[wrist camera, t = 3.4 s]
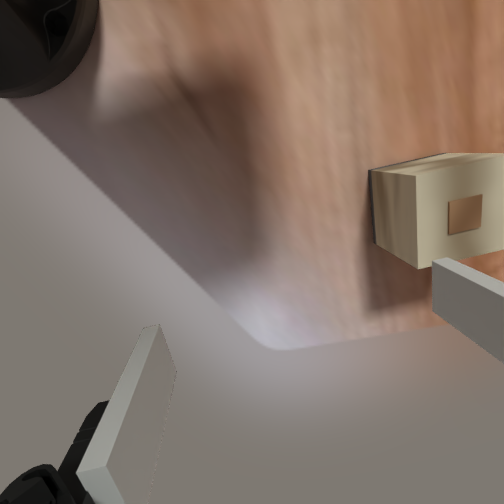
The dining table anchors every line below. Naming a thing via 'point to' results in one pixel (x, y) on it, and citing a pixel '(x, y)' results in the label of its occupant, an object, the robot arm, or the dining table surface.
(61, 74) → the robot arm
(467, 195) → the birch cube
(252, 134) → the dining table surface
